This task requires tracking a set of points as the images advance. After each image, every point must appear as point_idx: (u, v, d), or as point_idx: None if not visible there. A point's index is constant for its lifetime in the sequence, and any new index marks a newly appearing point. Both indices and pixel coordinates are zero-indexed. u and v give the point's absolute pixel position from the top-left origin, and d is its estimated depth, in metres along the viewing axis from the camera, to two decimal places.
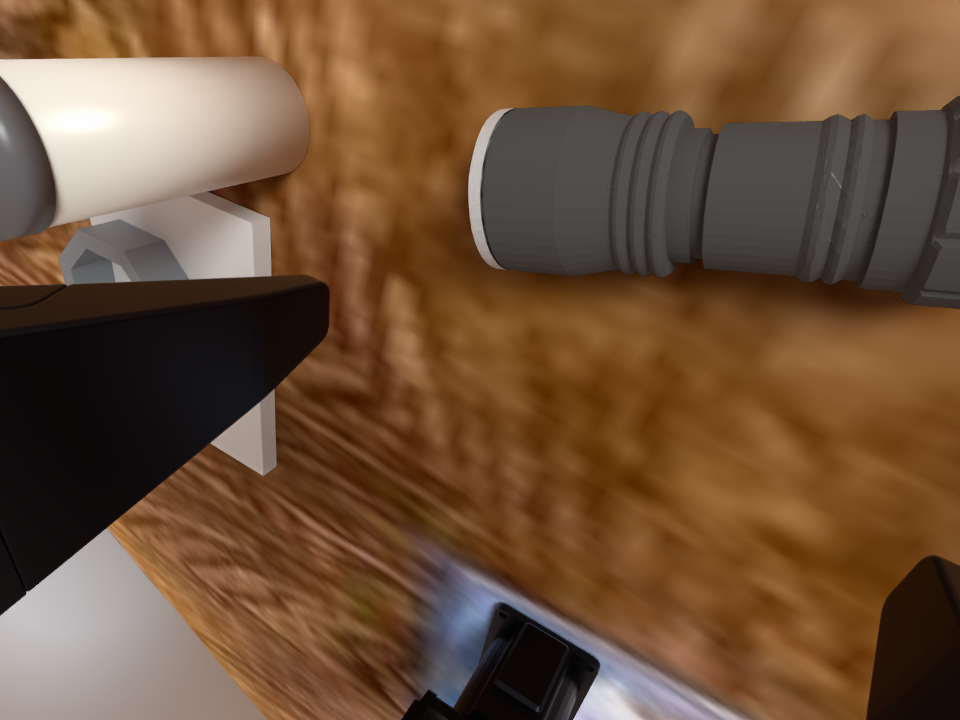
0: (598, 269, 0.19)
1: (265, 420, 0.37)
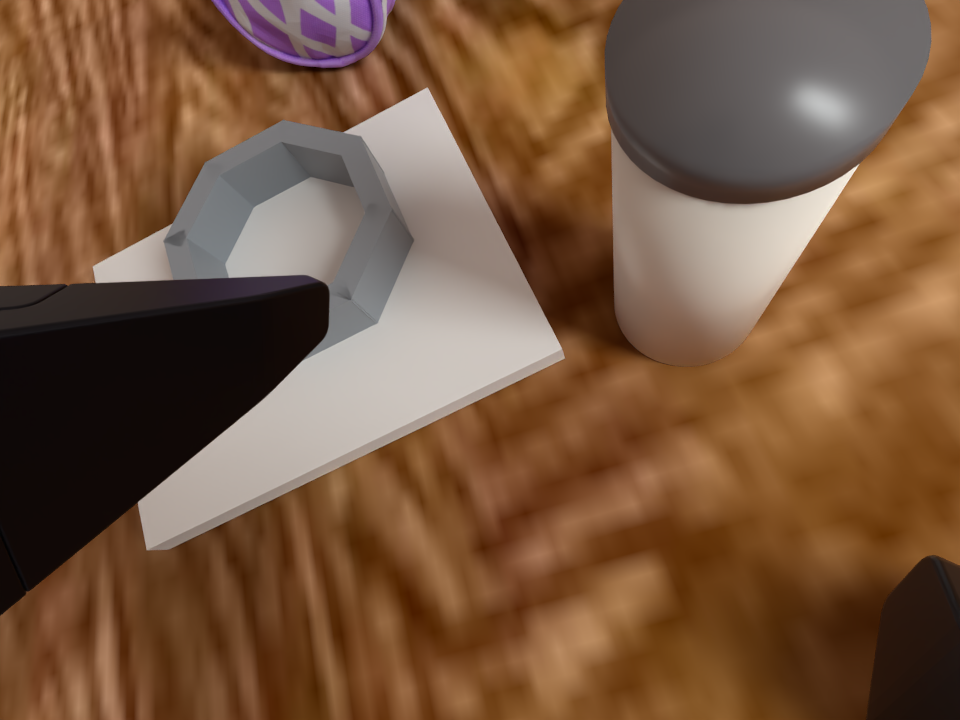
0: None
1: (254, 500, 0.23)
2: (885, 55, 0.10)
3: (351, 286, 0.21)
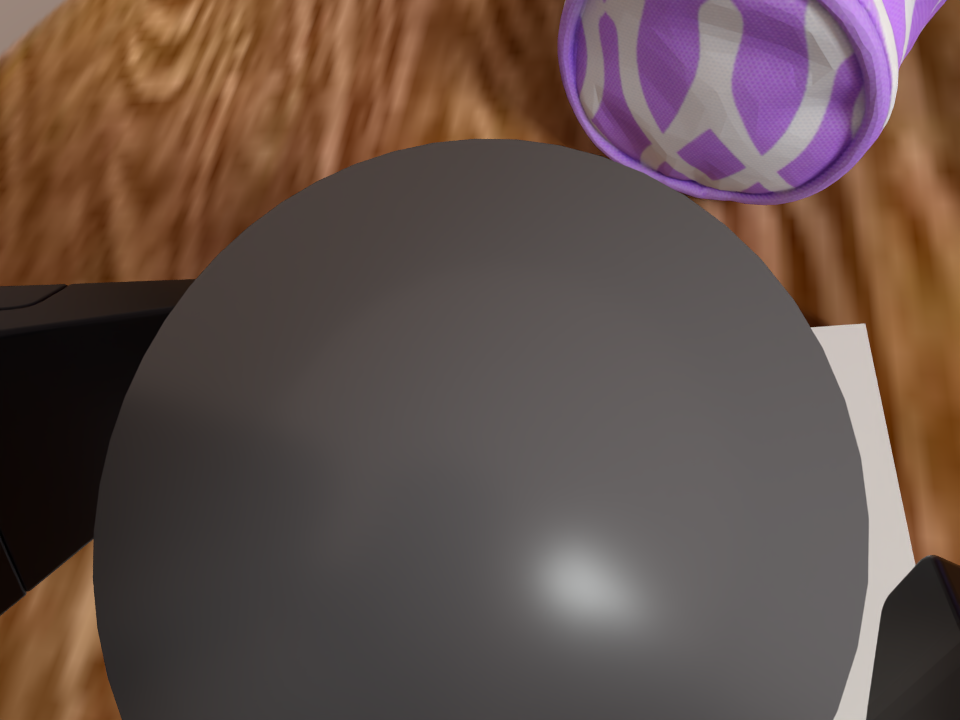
0: None
1: None
2: (737, 603, 0.03)
3: None
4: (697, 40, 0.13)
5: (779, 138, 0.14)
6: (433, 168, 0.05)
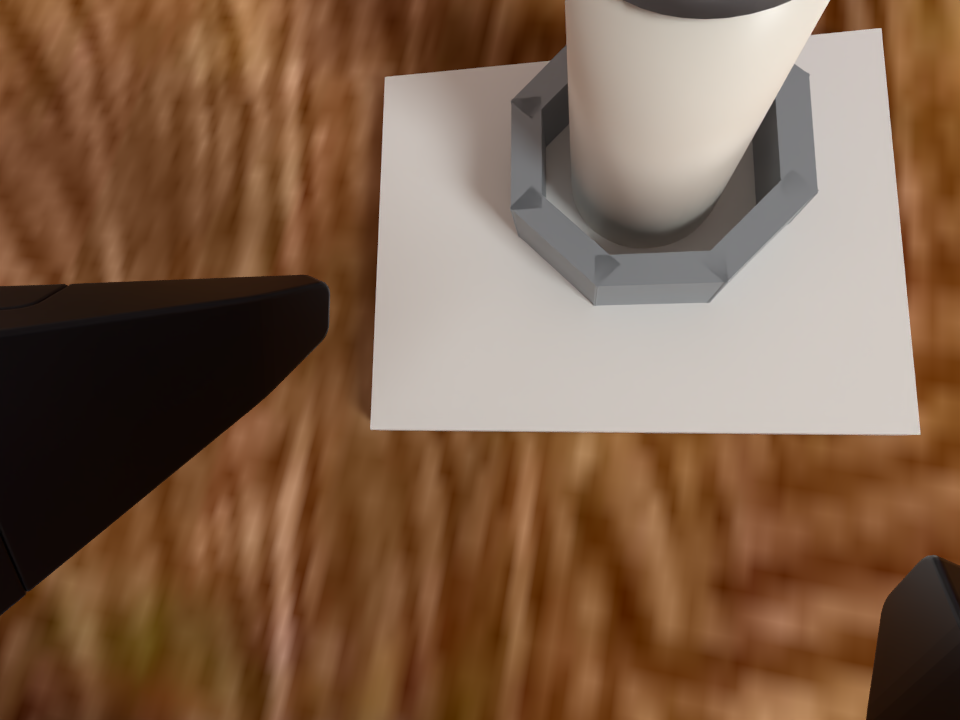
0: None
1: None
2: None
3: (732, 266, 0.17)
4: None
5: None
6: None
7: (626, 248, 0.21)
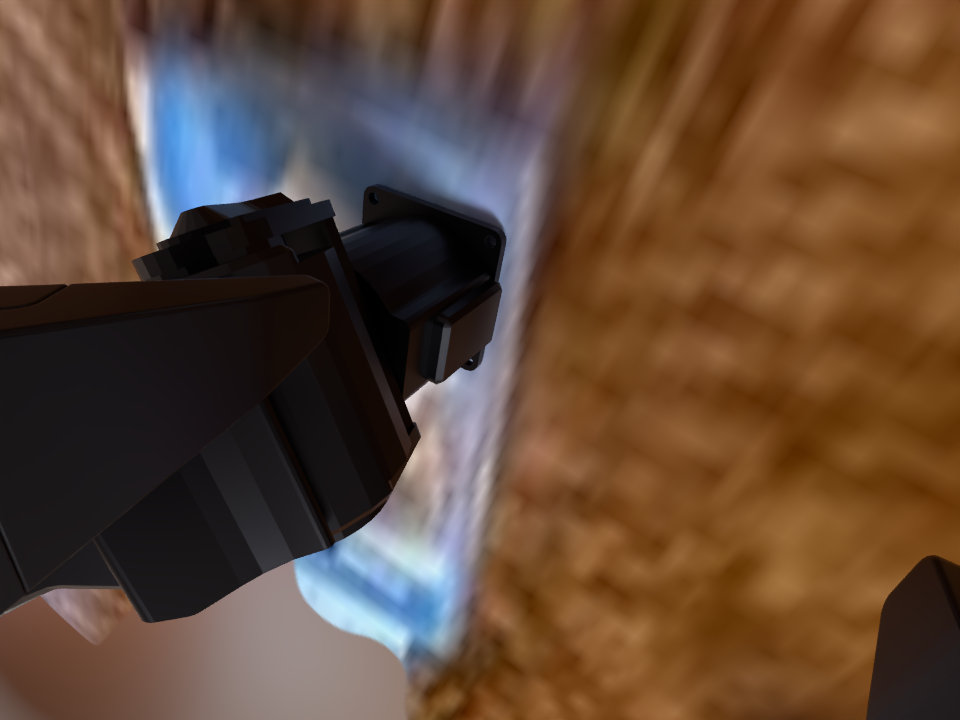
0: None
1: None
2: None
3: None
4: None
5: None
6: None
7: None
